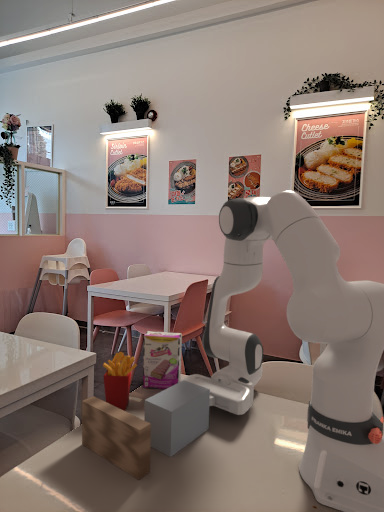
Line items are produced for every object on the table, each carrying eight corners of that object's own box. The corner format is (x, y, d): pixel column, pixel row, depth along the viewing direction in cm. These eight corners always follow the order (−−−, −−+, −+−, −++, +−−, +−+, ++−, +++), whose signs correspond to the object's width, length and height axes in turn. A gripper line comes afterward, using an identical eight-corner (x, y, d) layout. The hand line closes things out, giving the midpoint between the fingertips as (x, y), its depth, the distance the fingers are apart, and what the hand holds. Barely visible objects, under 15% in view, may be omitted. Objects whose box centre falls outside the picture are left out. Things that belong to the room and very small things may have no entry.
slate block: (208, 429, 88) (209, 389, 87) (170, 457, 77) (171, 411, 76) (183, 417, 93) (183, 380, 92) (144, 442, 82) (144, 400, 81)
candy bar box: (142, 388, 109) (142, 335, 108) (145, 381, 114) (146, 330, 113) (178, 391, 108) (180, 337, 107) (181, 383, 113) (182, 332, 112)
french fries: (102, 412, 94) (102, 356, 93) (109, 398, 102) (109, 346, 101) (135, 413, 94) (136, 357, 93) (140, 398, 102) (141, 347, 101)
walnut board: (150, 471, 72) (150, 423, 71) (139, 480, 70) (139, 430, 69) (93, 438, 83) (93, 396, 82) (82, 444, 80) (82, 400, 80)
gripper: (196, 365, 107) (164, 380, 96) (258, 384, 95) (230, 404, 84) (195, 385, 108) (164, 403, 97) (257, 408, 95) (229, 430, 84)
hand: (195, 403), depth 90 cm, fingers closed
